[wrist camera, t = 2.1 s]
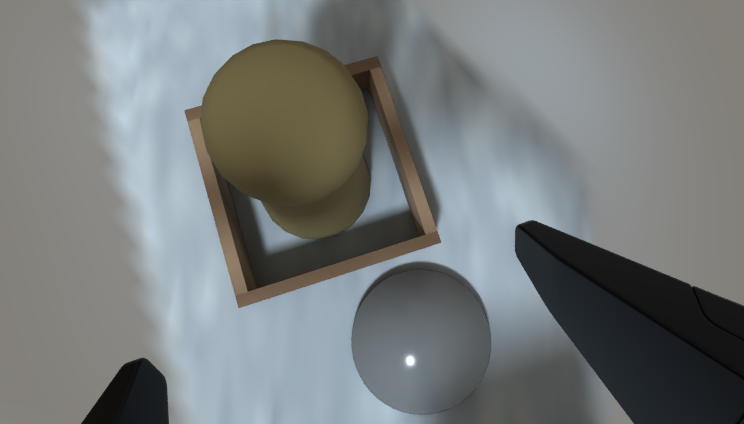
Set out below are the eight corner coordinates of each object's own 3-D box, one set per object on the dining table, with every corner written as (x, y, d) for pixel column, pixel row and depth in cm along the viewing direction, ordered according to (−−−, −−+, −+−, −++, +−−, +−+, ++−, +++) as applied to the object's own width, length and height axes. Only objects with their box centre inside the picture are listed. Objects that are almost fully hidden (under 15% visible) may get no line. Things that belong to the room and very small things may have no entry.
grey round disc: (457, 435, 21) (459, 438, 20) (328, 376, 21) (328, 378, 20) (508, 303, 22) (511, 304, 21) (385, 247, 22) (386, 247, 22)
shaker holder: (433, 244, 22) (441, 242, 20) (249, 304, 21) (238, 308, 19) (375, 74, 23) (377, 56, 21) (199, 124, 22) (184, 110, 20)
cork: (321, 109, 23) (290, -36, 12) (393, 189, 22) (429, 113, 12) (236, 179, 22) (121, 92, 11) (309, 262, 22) (263, 256, 11)
